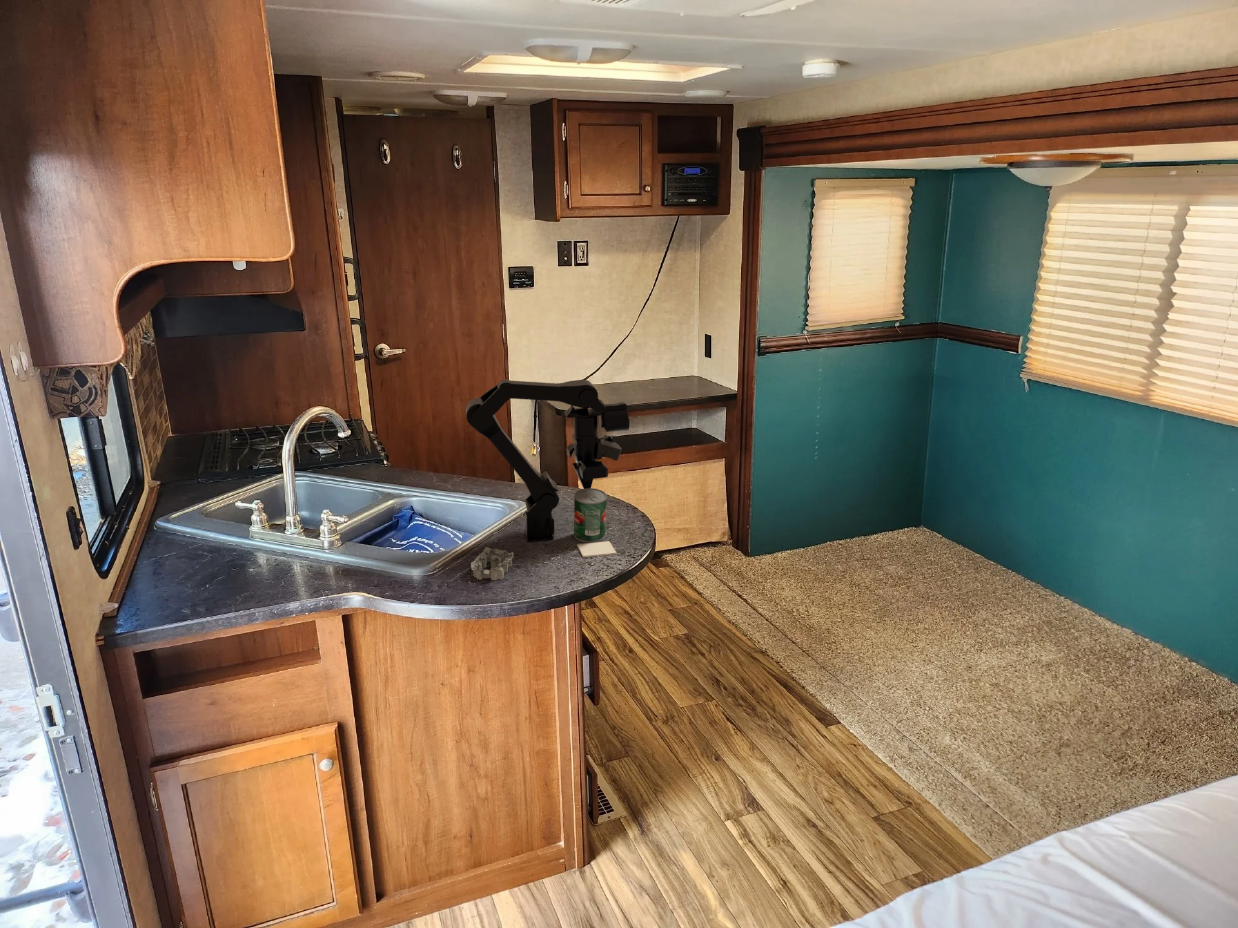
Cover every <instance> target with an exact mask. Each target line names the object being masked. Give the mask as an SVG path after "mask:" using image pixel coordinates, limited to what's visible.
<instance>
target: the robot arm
mask: <svg viewBox="0 0 1238 928" xmlns="http://www.w3.org/2000/svg"><path fill="white" fill-rule="evenodd" d="M512 399H513V400H528V401H530V400H532V401H548V402H559V403H564V404H566V405H570V407H569V408H567V410H565V412H564V414H565V415H566V418H567V419H572V418H573V434H571V435H572V439H571V440H572V441H573V443H570V444H569V445H568V446H566V455H567V456H568V458H572V456H573V457H574V460H575V462H573V463H572V467H573V469H574V471H575V473H576V475H577V477H578V480H579V482H580V485H581V486H582V489H586V488H592V486H593V481H594V480H595V479H597V480H598V479H604V478H607V477H609V468H608V467H607V466H606V464H605V463H604V462H602V461H601V460H603V458H607V459H610V460H613V461H616V462H617V461H619V460H620V455H621V452H622V450H623V448H622V447H621V446H620V445H619V444H618V443H617V442H616V441H614V440H613V437H612V436H611V435H608V434H606V435H604V436H603V437H602V438H600V437H599V434H598V433H599V432H598V431H599V430H598V429H599V428H600V429H603V430H604V432H605V433H609V432H612V433H613V432H623V431H629V429H630V418H629V412H628V407H627V402H625V401H621V402H617V403H616V402H615V403H604V402H603V400H602V399H599V392H598V390H597V388H596V387H595V385H594V384H593V383H591V381H590V380H588V379H576V380H569V381H565V382H560V383H559V382H557V383H556V382H555V383H554V382H541V381H540V382H537V381H527V380H526V381H523V380H510V379H508V378H507V379H505V378H504V379H501V380H500V381H499V382H498V383H496V385H494V386H493V387H492V388H490V389H489V390H487V391H486V392H484V394H482V395H481V396H480V397H476V398H473V399H471V400H469V402H468V403H467V404H466V407H465V414H466V415H465V416H466V421H467V423H468V424H469V425H470V426H471V427H472V428H473V429H475V430H476V432H478V433H479V435H482V436H483V437H485V438H486V439H488V440H489V441H490V442H491V443H492V444H493V446H494V447H495V448H496V449H497V451H498V452H499V453H500V454H501V456H502V457H503V458H504V459H505V460H506V462H507V463H508V465H509V466H510V467H511V468H512V469H513V470H514V471H515V472H516V474H517V475H518V476H519V478H520V479H521V480H522V481H523V483H524V485H525V486H526V488H527V489H528V493H530V494H529V495H528V496H527V497H526V498H525V499H524V503H525V507H526V511H524V530H523V533H524V537H525V539H526V541H527V542H529V543H530V542H539V541H540V542H541V541H551V540H554V538H555V537H554V535H555V518H554V517H553V513H552V512H553V510H554V509H555V508H556V507H558V505H559V503H560V502H559V501H560V497H559V494H558V492H559V488H558V487H557V483H556V481H554V480H553V479H552V478H551V477H550V475H549V474H548V472H547V471H546V470H545V471H544V472H543V473H541V472H540V471H537V469H535V467H534V466H533V465H532V464H531V463H530V461H529V460H528V459H527V458H526V456H525V455H524V454H523V453H522V451H521V450H520V449H519V448H518V446H517V445H516V443H514V441H513V440H512V439H511V438H510V436H509V435H508V434H507V433H506V432H505V430H504V429H503V428H502V426H501V425H500V422H499V420H498V418H497V417H496V415H495V414H496V413H497V412H499V410H501V408H503V406H504V405H505V404H506V403H507V402H509V400H512ZM598 425H599V428H598Z"/></svg>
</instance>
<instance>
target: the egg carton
mask: <svg viewBox="0 0 1238 928" xmlns="http://www.w3.org/2000/svg"><path fill="white" fill-rule="evenodd" d="M477 555H478V556H477V557H476V558H475V559H474V560H473V561H471V562H470V567H471V570H472V572H473V573H472V574H473V576H474V578H476V580H478V579H479V581H481V579H482V580H483V578H484V579H490V578H491V579H490V580H491V581H492V580H497V581H498V579H499V580H502V579H501V578H503V579H504V576H505V574H506V573H505V572H507V573H508V571H509V568H510V567H513V558H514V557H515V556H514V552H513V551H511V552H508V551H507V550H505V549H504V550H502V549H497V548H490V547H487V546H486V547H485V548H484V549H483V551H482V552H481V553H480V554H477ZM488 563H490V569H485V568H487V566H488V565H487V564H488ZM473 576H472V577H473Z"/></svg>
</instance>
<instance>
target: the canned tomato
mask: <svg viewBox="0 0 1238 928" xmlns="http://www.w3.org/2000/svg"><path fill="white" fill-rule="evenodd" d="M607 496H608V495H607V493H606V492H605V491H604V490H602V489H600V488H599V489H598V488H593V487H591V488H586V489H584V488H582V489H579V490H577V491H576V492H575V493H574V497H573V498H574V501H573V502H574V505H573V506H574V507H573V512H574V513H573V537H574V539H576V540H577V541H579V542H582V543H596V542H601V541H603V540H604V538H605V537H606V525H607V524H606V523H607V522H606V520H607V499H608V497H607Z"/></svg>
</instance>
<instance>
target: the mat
mask: <svg viewBox="0 0 1238 928" xmlns="http://www.w3.org/2000/svg"><path fill="white" fill-rule="evenodd" d="M576 547H577V549H578V550H579V552H580V554H581V556H582V558H592V557H594V558H595V557H601V556H602V557H603V556H613V555H617V551H616V549H615V548H614V547H613V545H612V543H611V542H610V541H609V540H608V541H598V542H593V543H587V542H585V543H577V545H576Z"/></svg>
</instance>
